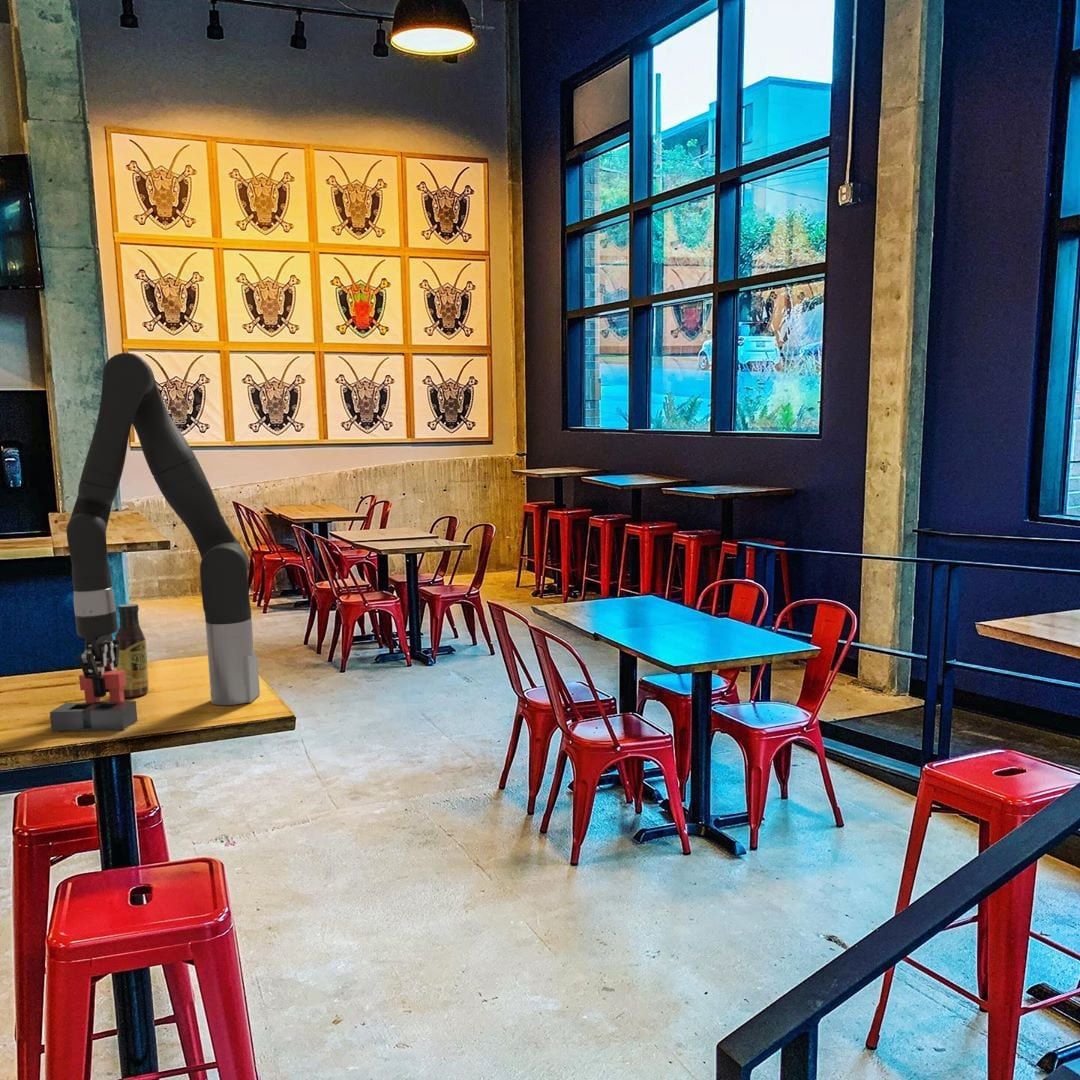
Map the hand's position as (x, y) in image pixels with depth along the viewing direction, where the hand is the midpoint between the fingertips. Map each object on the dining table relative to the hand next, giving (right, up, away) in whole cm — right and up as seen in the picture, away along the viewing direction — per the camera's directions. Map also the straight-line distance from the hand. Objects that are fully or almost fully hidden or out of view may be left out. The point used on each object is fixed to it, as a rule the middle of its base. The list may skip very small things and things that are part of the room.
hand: (104, 693), depth 192 cm
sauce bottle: (0, -3, +15) cm, 15 cm away
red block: (0, -3, 0) cm, 3 cm away
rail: (+2, -5, -7) cm, 9 cm away
